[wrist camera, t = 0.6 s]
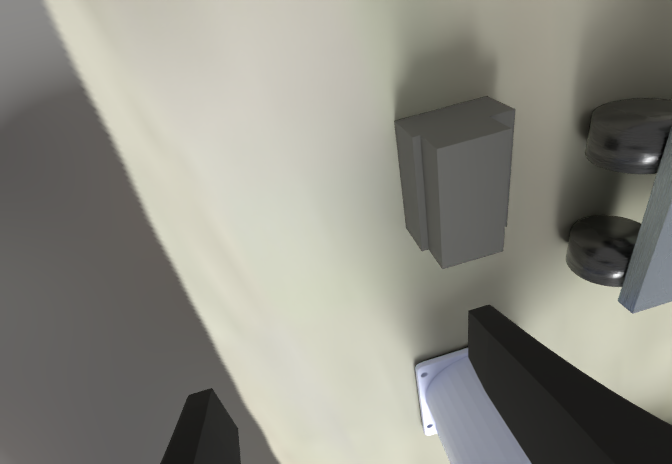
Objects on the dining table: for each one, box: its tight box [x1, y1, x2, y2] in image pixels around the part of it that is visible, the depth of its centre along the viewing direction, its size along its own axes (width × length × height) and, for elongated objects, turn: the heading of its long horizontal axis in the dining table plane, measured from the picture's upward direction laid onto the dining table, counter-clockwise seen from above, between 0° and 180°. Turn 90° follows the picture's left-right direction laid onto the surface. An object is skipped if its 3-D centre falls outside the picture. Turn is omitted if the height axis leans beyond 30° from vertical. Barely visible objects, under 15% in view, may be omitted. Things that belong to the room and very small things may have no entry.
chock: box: [394, 96, 515, 269], centre depth 18 cm, size 6×4×4 cm
